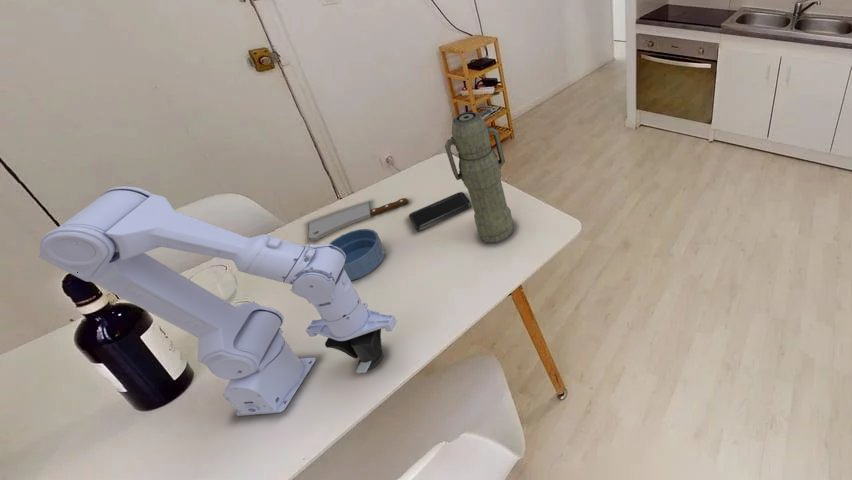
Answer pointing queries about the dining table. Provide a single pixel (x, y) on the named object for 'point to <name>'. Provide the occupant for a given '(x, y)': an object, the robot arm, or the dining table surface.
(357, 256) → the blue round bowl
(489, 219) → the thermos
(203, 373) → the dining table surface
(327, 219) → the kitchen cleaver
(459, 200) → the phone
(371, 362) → the blade unit
